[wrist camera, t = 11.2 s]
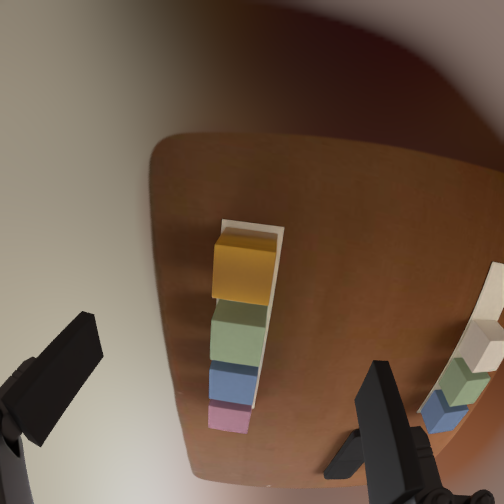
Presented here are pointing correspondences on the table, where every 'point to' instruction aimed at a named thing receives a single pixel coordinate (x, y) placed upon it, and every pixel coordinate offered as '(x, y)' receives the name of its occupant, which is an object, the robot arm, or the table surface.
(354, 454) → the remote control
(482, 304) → the white strip with cubes
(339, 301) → the table surface
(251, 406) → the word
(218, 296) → the block
